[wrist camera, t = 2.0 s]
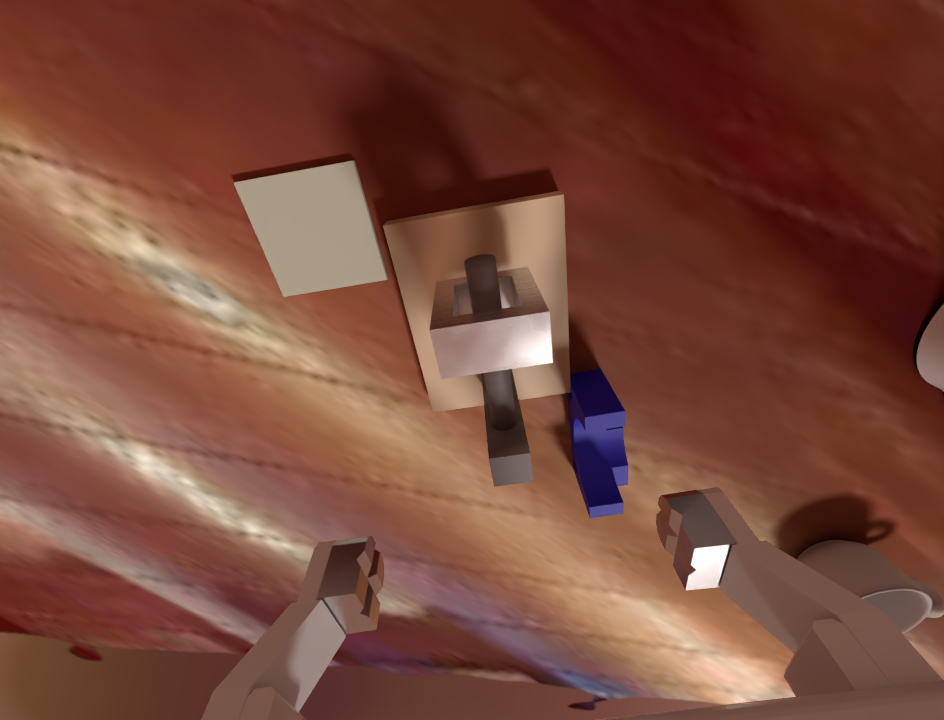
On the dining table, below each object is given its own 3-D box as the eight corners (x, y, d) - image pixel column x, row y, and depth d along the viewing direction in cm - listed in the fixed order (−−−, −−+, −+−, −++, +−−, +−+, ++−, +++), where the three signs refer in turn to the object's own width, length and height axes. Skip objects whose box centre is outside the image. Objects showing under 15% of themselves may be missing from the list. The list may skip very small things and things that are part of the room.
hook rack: (558, 191, 27) (621, 233, 16) (566, 382, 35) (611, 490, 25) (386, 220, 27) (342, 280, 17) (434, 401, 36) (424, 515, 25)
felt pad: (354, 160, 25) (353, 160, 25) (387, 277, 29) (387, 279, 29) (236, 181, 26) (233, 182, 25) (285, 294, 30) (283, 296, 30)
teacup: (761, 575, 52) (807, 643, 45) (810, 523, 47) (870, 592, 40) (854, 581, 54) (912, 648, 47) (912, 531, 48) (987, 599, 41)
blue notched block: (617, 461, 40) (640, 510, 35) (573, 468, 41) (589, 518, 36) (617, 365, 34) (645, 407, 29) (566, 374, 35) (584, 417, 30)
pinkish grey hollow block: (528, 266, 25) (549, 311, 19) (531, 308, 27) (552, 362, 21) (436, 281, 26) (429, 330, 20) (445, 322, 27) (441, 379, 21)
